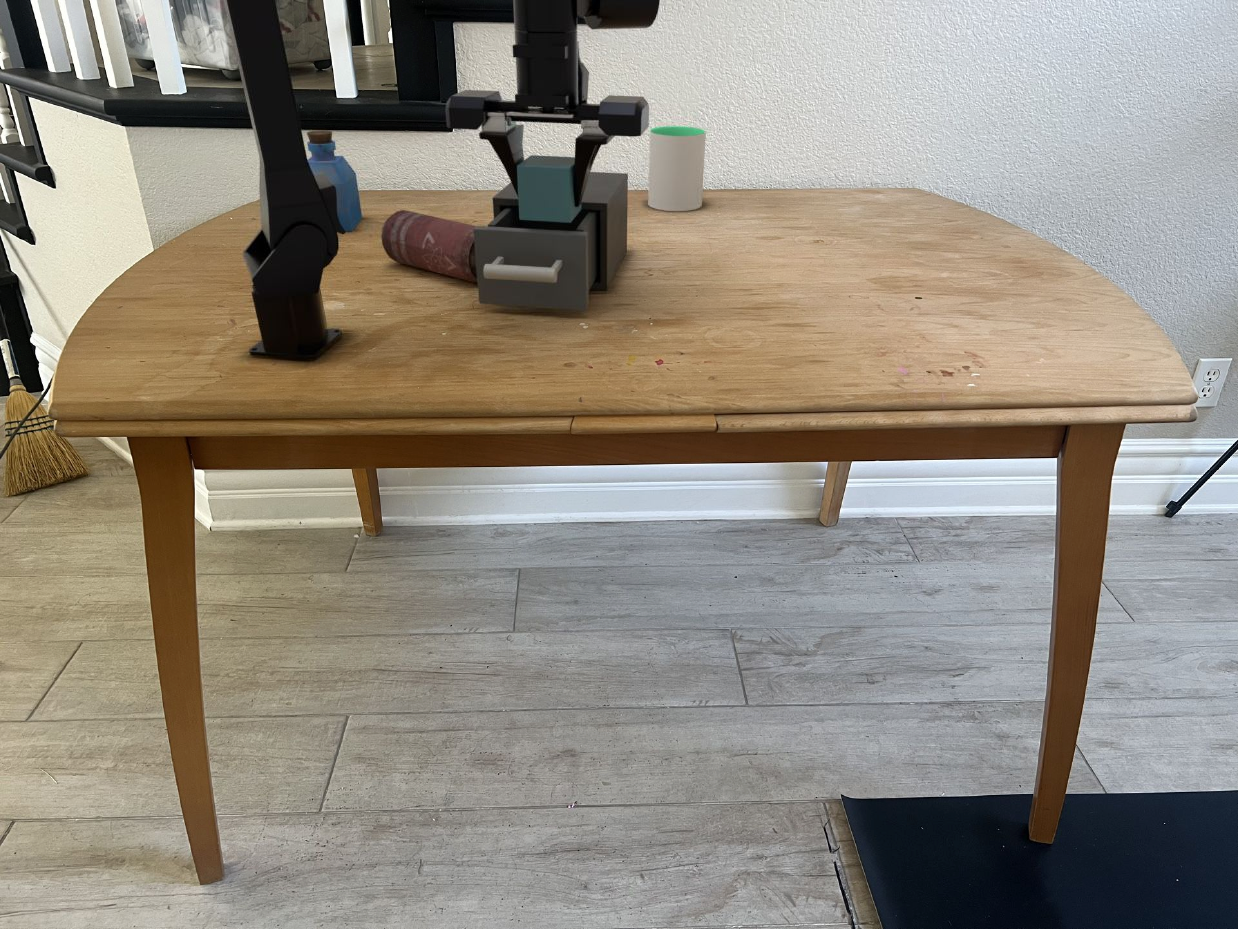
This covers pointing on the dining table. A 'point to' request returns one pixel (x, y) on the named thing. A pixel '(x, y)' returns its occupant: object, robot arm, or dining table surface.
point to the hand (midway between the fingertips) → (550, 204)
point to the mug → (676, 168)
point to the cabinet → (612, 202)
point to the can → (431, 244)
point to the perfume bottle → (336, 176)
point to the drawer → (537, 260)
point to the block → (547, 189)
